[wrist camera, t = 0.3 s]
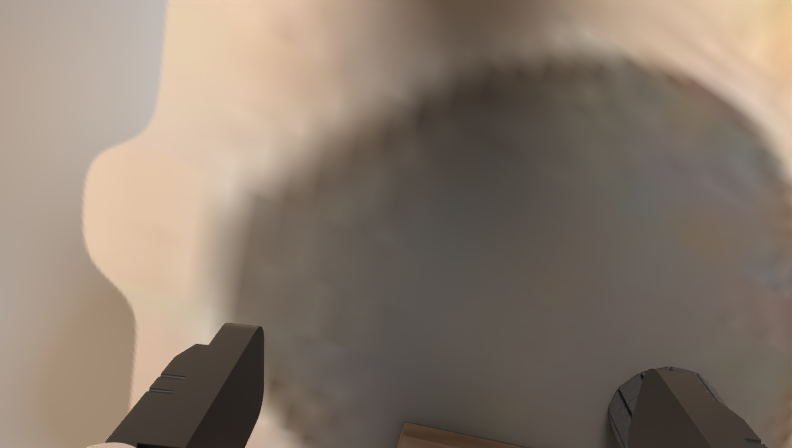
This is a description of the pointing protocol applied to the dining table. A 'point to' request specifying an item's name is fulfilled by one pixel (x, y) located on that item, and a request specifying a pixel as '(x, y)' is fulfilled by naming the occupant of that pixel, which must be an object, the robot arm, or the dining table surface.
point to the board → (442, 439)
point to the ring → (627, 399)
